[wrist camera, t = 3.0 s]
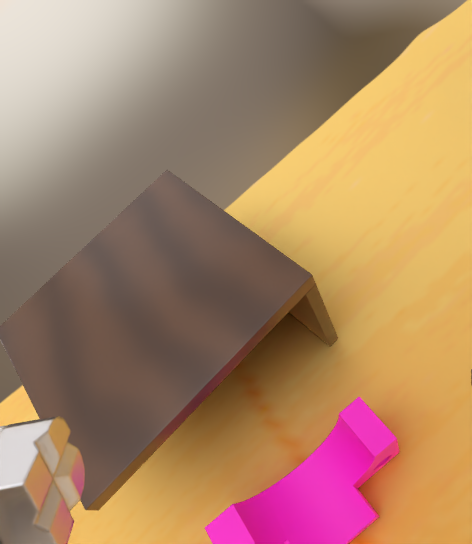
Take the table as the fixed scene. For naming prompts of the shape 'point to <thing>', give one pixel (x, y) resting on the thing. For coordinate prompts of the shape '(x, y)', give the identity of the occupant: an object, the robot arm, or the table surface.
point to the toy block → (316, 490)
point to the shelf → (151, 326)
